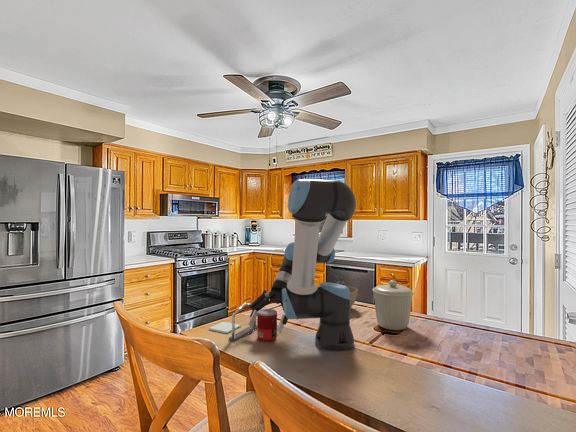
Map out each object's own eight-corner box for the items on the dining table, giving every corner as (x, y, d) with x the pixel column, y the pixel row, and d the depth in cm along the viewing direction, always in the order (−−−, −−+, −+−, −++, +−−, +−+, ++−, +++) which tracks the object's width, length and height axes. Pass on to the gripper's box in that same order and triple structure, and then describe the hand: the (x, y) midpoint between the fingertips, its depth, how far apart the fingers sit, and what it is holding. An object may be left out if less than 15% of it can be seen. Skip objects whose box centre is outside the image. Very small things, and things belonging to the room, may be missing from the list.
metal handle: (258, 328, 144) (259, 298, 144) (234, 342, 128) (235, 308, 128) (253, 327, 145) (253, 297, 145) (228, 340, 129) (228, 307, 129)
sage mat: (241, 326, 145) (241, 324, 145) (227, 333, 136) (227, 331, 136) (223, 323, 150) (223, 321, 150) (208, 329, 141) (208, 328, 141)
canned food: (276, 342, 128) (276, 314, 128) (256, 341, 128) (256, 314, 128) (277, 335, 135) (277, 308, 135) (258, 334, 135) (258, 308, 135)
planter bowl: (321, 306, 179) (321, 286, 179) (345, 303, 186) (346, 284, 186) (338, 314, 164) (338, 293, 164) (363, 310, 171) (363, 290, 171)
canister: (407, 321, 155) (407, 277, 155) (419, 334, 137) (419, 285, 137) (369, 319, 157) (369, 276, 157) (375, 333, 139) (375, 283, 139)
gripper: (310, 292, 140) (295, 338, 126) (261, 285, 151) (242, 327, 138) (305, 281, 135) (289, 328, 122) (255, 276, 146) (235, 318, 133)
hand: (264, 328), depth 130 cm, fingers open, 13 cm apart
